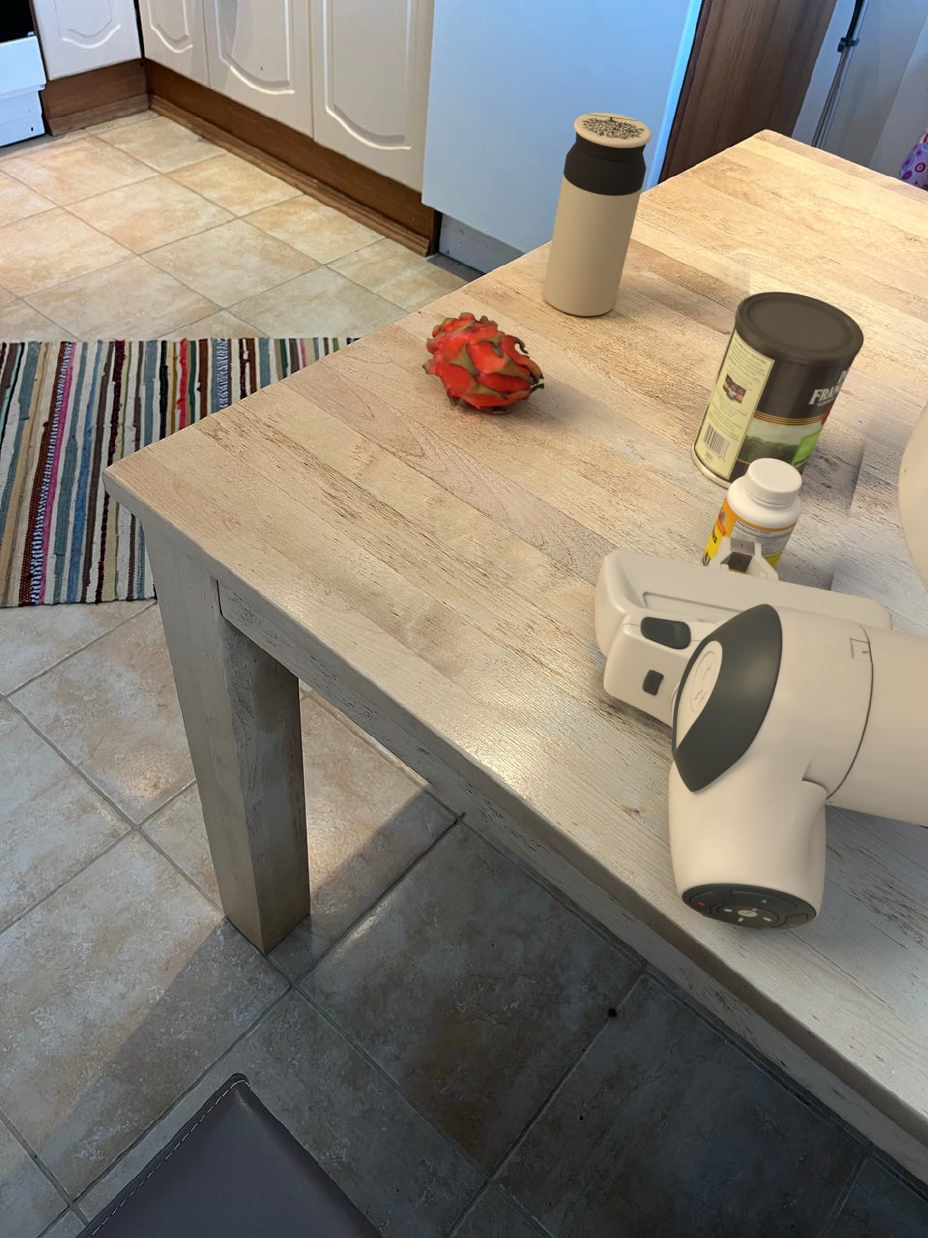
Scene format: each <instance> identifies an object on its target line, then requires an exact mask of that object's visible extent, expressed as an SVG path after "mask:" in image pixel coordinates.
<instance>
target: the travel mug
mask: <svg viewBox="0 0 928 1238" xmlns="http://www.w3.org/2000/svg"><path fill="white" fill-rule="evenodd" d="M573 127H574V130H575V142H574V143H573V145H572V146H571V148H570V149H569V150H568V152H567V153H566V156H565V161H564V166H563V172H562V179H561V185H560V191H559V197H558V202H557V208H556V212H555V213H556V214H555V219H554V226H553V232H552V237H551V243H550V249H549V254H548V261H547V267H546V271H545V272H546V273H545V279H544V283H543V284H544V285H543V290H542V294H543V297H544V299H545V301H546V302H548V304H549V305H551V306H552V307H554V308H555V309H557V310H559V311H562V312H564V313H566V314H568V315H569V314H570V315H574V316H578V317H591V316H599V315H604V314H607V313H609V312H610V311H611V310H612V309H613V308H614V307H615V304H616V301H617V297H618V293H619V287H620V284H621V280H622V275H623V272H624V267H625V262H626V258H627V254H628V249H629V245H630V241H631V237H632V232H633V228H634V224H635V219H636V214H637V211H638V206H639V202H640V198H641V194H642V189H643V186H644V181H645V176H646V172H647V164H646V160H645V157H644V151H645V148H646V145H647V144H648V143H649V142H650V141H651V139H652V131H651V129H650V128H649V127H648V126H647V125H646V124H645V123H643V122H641V121H640V120H637V119H635V118H633V117H631V116H627V115H622V114H619V113H613V112H589V113H584V114H582V115H580V116H578V117H577V118H576V119H575V121H574V123H573Z"/></svg>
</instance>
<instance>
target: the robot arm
mask: <svg viewBox="0 0 928 1238" xmlns="http://www.w3.org/2000/svg"><path fill="white" fill-rule="evenodd" d="M897 483H898V484H897V489H898V490H897V493H898V496H897V497H898V499H897V501H898V505H897V506H898V515H899V521H900V528H901V532H902V535H903V540H904V543H905V547H906V550H907V553H908V555H909V558H910V561H911V563H912V565H913V568H914V570H915V572H916V574H917V576H918V578H919V580H920V582H921V584H922V585H923V587H924V589H925V591H926V592H927V593H928V401H927V402H926V403H925V405H924V407H923V409H922V411H921V412H920V414H919V415H918V418H917V420H916V422H915V424H914V426H913V428H912V430H911V433H910V435H909V438H908V439H907V442H906V444H905V448H904V451H903V454H902V457H901V461H900V467H899V473H898V482H897ZM729 569H731V570H736V571H741V572H745V573H746V574H743V573H738V572H733V571H729ZM779 576H780V575H779V573H778V572H777V571H776V570H775V569H773V568H772V567H771V566H770V564H769V563H768V562H767V561H766V560H765V559H764V558H763V557H762V551H761V543H756V542H750V541H745V540H740V539H735V538H731V537H726V536H723V537H722V540H721V542H720V544H719V547H718V551H717V555H716V556H715V557H713V558H712V559H711V560H710V562H709V564H708V566H703V565H702V564H698V563H697V564H696V563H693V562H686V561H682V560H678V559H671V558H667V557H662V556H657V555H651V554H648V553H641V552H637V551H631V550H628V549H621V548H616V549H614V550H613V551H610V552H609V553H608V554H606V555H605V556H604V557H603V560H602V562H601V565H600V568H599V572H598V576H597V578H596V579H597V580H596V585H595V592H594V628H595V629H594V630H595V636H596V641H597V645H598V647H599V649H600V651H601V653H602V655H604V657H605V658H606V663H605V666H604V667H605V668H604V672H603V673H604V675H603V688H604V691H605V692H606V693H607V694H608V695H610V696H611V697H613V698H616V699H617V700H620V701H622V702H624V703H626V704H628V705H630V706H632V707H635V708H636V709H638V710H641V711H642V712H645V713H647V714H648V715H650V716H652V717H654V718H656V719H657V720H659V721H661V722H662V723H664V724H665V725H666V726H668V727H670V728H671V755H672V759H673V760H672V763H671V766H670V770H669V776H668V833H669V846H670V847H669V848H670V856H671V865H672V871H673V878H674V882H675V886H676V890H677V894H678V896H679V898H680V900H681V901H682V902H683V903H684V904H685V905H686V906H687V907H689V908H690V909H692V910H693V911H695V912H697V913H698V914H700V915H701V916H703V917H705V918H708V919H711V920H714V921H718V922H722V923H725V924H729V925H733V926H739V927H744V928H749V929H753V930H754V929H755V930H759V931H760V930H777V931H778V930H779V931H780V930H789V929H794V928H797V927H800V926H802V925H805V924H808V923H810V922H812V921H814V920H815V919H816V918H817V917H818V916H819V915H820V912H821V909H822V908H821V907H822V904H823V895H824V888H825V876H826V860H827V859H826V855H827V826H826V823H827V821H826V806H827V805H828V806H833V807H837V808H842V809H846V810H850V811H855V812H859V813H863V814H868V815H872V816H877V817H882V818H886V819H891V820H894V821H900V822H904V823H908V824H914V825H917V826H918V827H921V828H924V829H926V830H928V637H925V636H919V635H915V634H911V633H906V632H901V631H897V630H894V628H893V627H894V626H893V618H892V613H891V612H890V610H888V608H887V607H886V606H884V604H883V603H881V602H880V601H879V600H877V599H874V598H870V597H864V596H859V595H853V594H849V593H843V592H838V591H834V590H829V589H823V588H820V587H819V588H818V587H815V586H814V587H813V586H808V585H803V584H798V583H793V582H788V581H784V580H780V577H779Z"/></svg>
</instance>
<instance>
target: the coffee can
mask: <svg viewBox="0 0 928 1238" xmlns="http://www.w3.org/2000/svg"><path fill="white" fill-rule="evenodd" d="M864 337H865V335H864V333H863V331H862V328H861V327H860V324H858V323H857V321H855V320H854V319H853V317H852V316H850V315H849V314H848V313H846V312H845V311H843V310H842V309H840V308H838V307H836V306H835V305H832V304H831V303H829V302H826V301H823V300H821V299H819V298H815V297H812V296H809V295H805V294H801V293H794V292H790V291H789V292H788V291H763V292H759V293H754V294H751V295H749V296H746V297H745V298H744V299H743V300H741V301H740V302H739V304H738V305H737V308H736V311H735V314H734V322H733V325H732V327H731V330H730V334H729V336H728V340H727V343H726V346H725V349H724V351H723V355H722V358H721V361H720V364H719V366H718V369H717V373H716V375H715V379H714V382H713V385H712V386H711V391H710V393H709V397H708V400H707V402H706V404H705V405H706V406H705V409H704V411H703V414H702V418H701V420H700V424H699V426H698V429H697V432H696V435H695V437H694V439H693V441H692V443H691V446H690V447H691V451H690V452H691V458H692V461H693V463H694V464H695V466H696V467H697V468H698V470H699V471H700V472H701V473H702V474H703V475H704V476H705V477H706V478H707V479H709V480H711V481H712V482H714V483H715V484H717V485H719V486H720V487H722V488H724V489H727V490H728V489H729V487H730V486H731V484H732V483H733V482H734V481H735V480H737V479H738V478H740V477H742V476H745V474H746V473H747V470H748V468H749V466H750V464H751V463H752V462H754V461H755V460H758V459H762V458H772V459H777V460H781V461H783V462H786V463H788V464H789V465H791V466H792V467H794V468H795V469H796V470H797V471H798V472H799V474H800V475H801V478H802V477H803V472H804V471H805V468H806V466H807V464H808V461H809V459H810V458H811V455H812V453H813V451H814V449H815V446H816V444H817V442H818V440H819V437H820V435H821V433H822V431H823V429H824V427H825V424H826V422H827V420H828V418H829V416H830V414H831V411H832V409H833V406H834V404H835V403H836V400H837V398H838V396H839V394H840V391H841V389H842V387H843V385H844V384H845V381H846V378H847V376H848V374H849V372H850V369H851V367H852V365H853V362H854V361H855V359H856V356H857V355H858V354H859V352H860V351H861V349H862V347H863V345H864V342H865V338H864Z"/></svg>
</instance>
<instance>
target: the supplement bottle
mask: <svg viewBox="0 0 928 1238" xmlns="http://www.w3.org/2000/svg"><path fill="white" fill-rule="evenodd" d="M802 485H803V478H802V477H801V475H800V474H799V472H798V471H797V470H796V469H795V468H794V467H792V466H791V465H789V464H788V463H786V462H783V461H781V460H777V459H772V458H762V459H758V460H755V461H754V462H752V463H751V464H750V466H749V468H748V470H747V473H746V474H745V476H742V477H740V478H738V479H737V480H735V481H734V482H733V483H732V484H731V486H730V487H729V489H727V491H726V494H725V497H724V500H723V503H722V505H721V507H720V510H719V513H718V515H717V518H716V520H715V523H714V526H713V528H712V531H711V534H710V535H709V539H708V540H707V544H706V547H705V549H704V551H703V555H702V558H701V565H703V566H708V564H709V562H710V560H711V559H712V558H713V557H715V556H716V555H717V551H718V547H719V544H720V542H721V540H722V537H723V536H726V537H731V538H735V539H740V540H745V541H750V542H756V543H761V551H762V557H763V558H764V559H765V560H766V561H767V562H768V563H769V564H770V566H771V567H772V568H773V569H774V570H775V569H776V568H777V566H778V564H779V561H780V560H781V558H782V555H783V553H784V550H785V549H786V546H787V544H788V542H789V539H790V537H791V535H792V534H793V531H794V529H795V527H796V525H797V522H798V520H799V519H800V516H801V514H802V509H803V504H802V500H801V498H800V496H799V491H800V490H801V487H802ZM729 571H733V572H738V573H743V574H746V573H745V572H741V571H736V570H731V569H729Z"/></svg>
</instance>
